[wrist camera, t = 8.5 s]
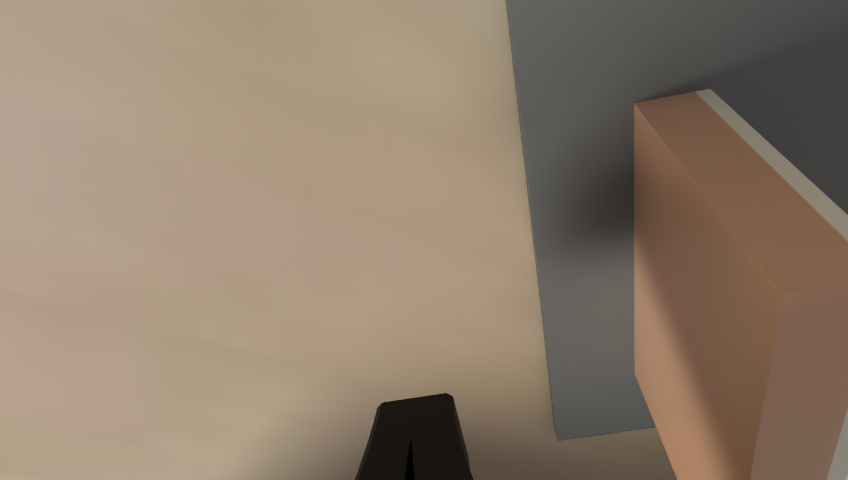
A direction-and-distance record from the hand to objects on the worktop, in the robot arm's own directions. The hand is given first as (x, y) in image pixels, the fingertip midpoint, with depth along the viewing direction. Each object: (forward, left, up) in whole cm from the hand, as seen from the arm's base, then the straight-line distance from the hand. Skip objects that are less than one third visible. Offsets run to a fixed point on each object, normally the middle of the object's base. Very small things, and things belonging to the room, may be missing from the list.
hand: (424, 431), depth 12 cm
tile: (+6, 0, -4) cm, 7 cm away
